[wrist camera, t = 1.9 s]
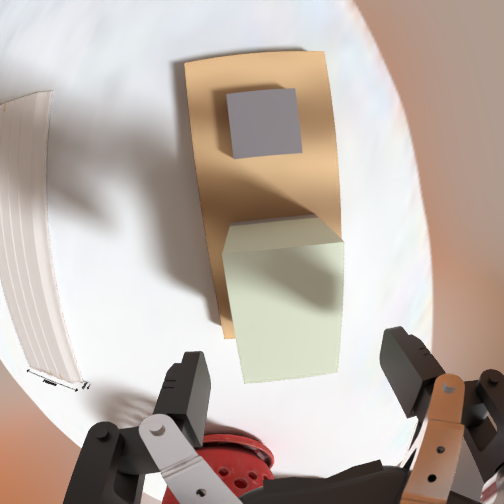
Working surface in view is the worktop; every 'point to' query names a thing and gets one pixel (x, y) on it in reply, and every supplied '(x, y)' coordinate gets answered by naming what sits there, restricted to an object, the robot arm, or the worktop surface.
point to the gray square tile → (264, 123)
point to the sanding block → (285, 296)
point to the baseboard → (31, 239)
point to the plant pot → (234, 463)
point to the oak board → (264, 167)
